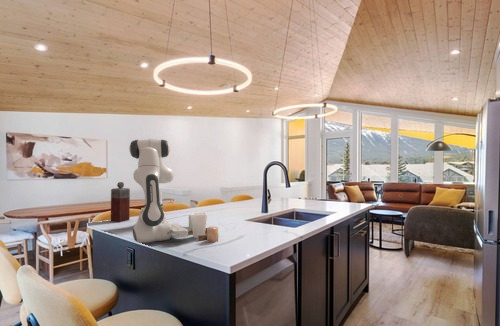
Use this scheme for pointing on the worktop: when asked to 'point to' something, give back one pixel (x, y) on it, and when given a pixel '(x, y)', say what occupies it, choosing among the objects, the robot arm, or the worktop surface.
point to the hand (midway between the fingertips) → (190, 228)
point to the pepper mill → (120, 203)
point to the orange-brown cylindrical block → (212, 234)
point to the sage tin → (190, 221)
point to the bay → (200, 237)
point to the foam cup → (198, 223)
